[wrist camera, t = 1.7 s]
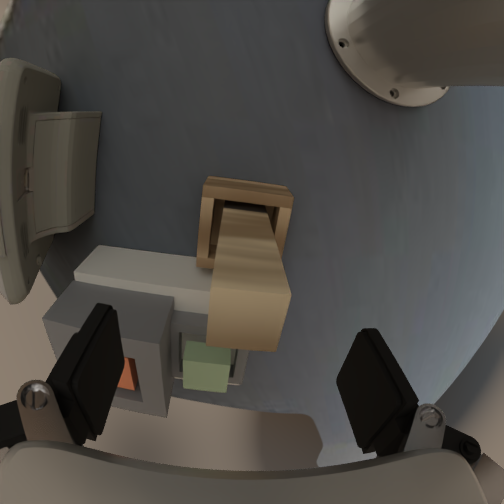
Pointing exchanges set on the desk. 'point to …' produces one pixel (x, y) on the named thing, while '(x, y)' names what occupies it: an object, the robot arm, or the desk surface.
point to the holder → (240, 191)
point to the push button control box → (142, 317)
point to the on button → (206, 367)
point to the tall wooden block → (247, 282)
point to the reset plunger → (129, 375)
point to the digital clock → (40, 171)
